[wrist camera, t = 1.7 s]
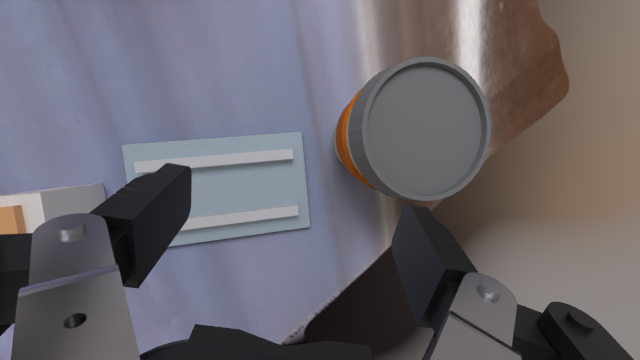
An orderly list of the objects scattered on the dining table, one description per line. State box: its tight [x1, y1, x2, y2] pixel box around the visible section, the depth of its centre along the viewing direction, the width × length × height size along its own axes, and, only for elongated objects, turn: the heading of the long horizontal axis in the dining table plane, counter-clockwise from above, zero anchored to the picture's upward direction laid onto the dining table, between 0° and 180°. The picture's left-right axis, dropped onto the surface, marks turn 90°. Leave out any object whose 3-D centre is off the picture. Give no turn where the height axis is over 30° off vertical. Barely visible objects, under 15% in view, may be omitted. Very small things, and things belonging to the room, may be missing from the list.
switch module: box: [0, 183, 106, 234], centre depth 28 cm, size 4×4×11 cm
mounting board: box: [122, 132, 310, 247], centre depth 35 cm, size 20×12×2 cm, turn 95°
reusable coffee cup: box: [333, 57, 491, 201], centre depth 32 cm, size 13×12×15 cm
